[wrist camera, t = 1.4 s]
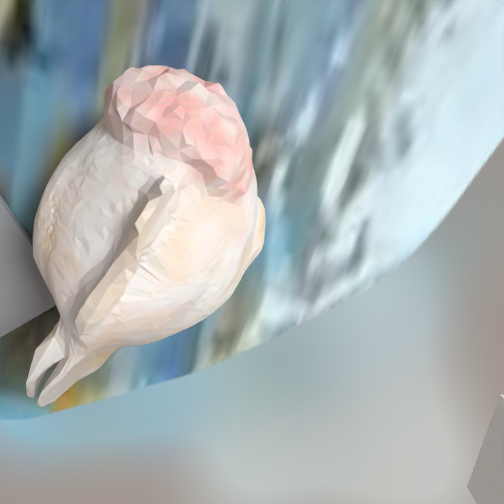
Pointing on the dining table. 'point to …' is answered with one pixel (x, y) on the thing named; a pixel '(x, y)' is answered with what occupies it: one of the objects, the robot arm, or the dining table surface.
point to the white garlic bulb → (144, 222)
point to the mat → (19, 276)
